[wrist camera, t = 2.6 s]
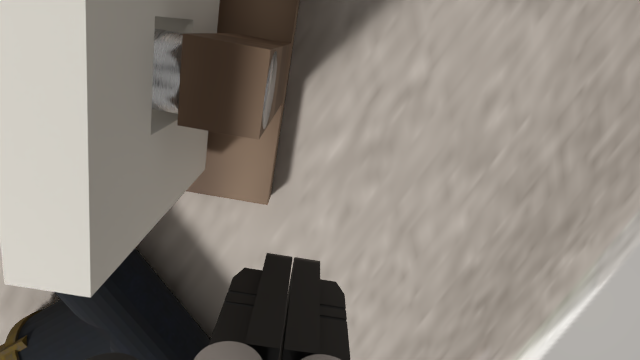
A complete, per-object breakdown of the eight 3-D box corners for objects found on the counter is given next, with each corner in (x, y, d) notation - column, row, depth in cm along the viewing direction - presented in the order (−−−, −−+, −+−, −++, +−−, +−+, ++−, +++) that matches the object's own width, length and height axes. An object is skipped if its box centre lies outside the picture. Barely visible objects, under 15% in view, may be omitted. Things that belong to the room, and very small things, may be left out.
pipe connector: (77, 463, 28) (-95, 305, 24) (113, 398, 33) (-23, 258, 29) (214, 399, 26) (55, 215, 22) (231, 341, 31) (104, 182, 27)
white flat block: (225, -67, 19) (81, -209, 8) (205, 169, 23) (90, 297, 12) (172, -78, 19) (-50, -237, 8) (161, 161, 23) (4, 284, 12)
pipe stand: (312, -85, 21) (300, -180, 12) (270, 195, 26) (239, 285, 17) (-126, -175, 20) (-525, -358, 11) (-77, 136, 25) (-312, 196, 16)
